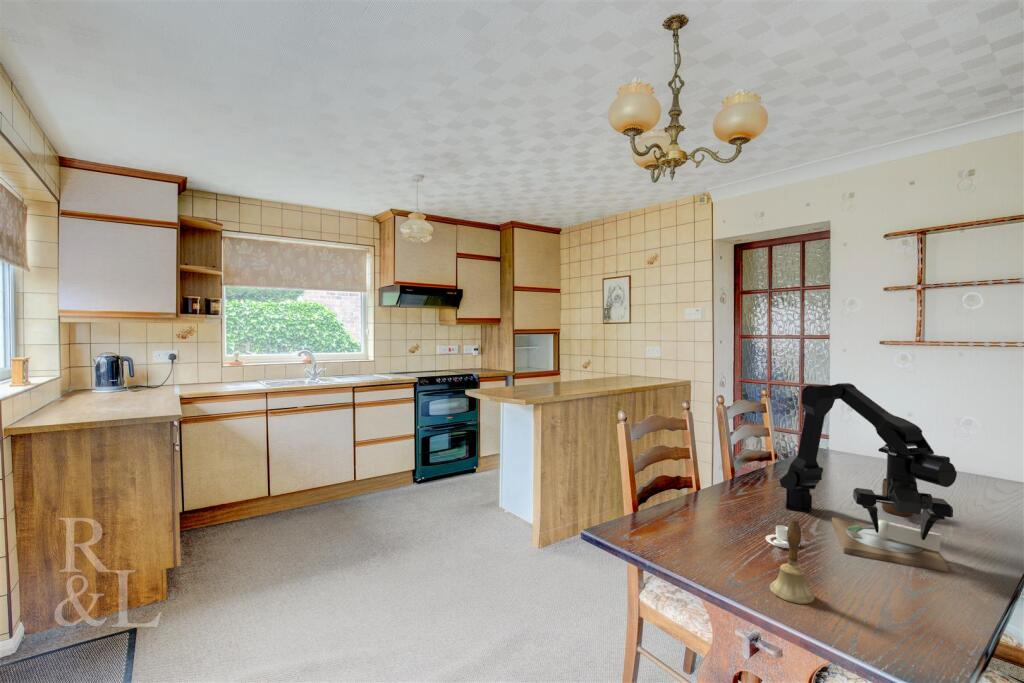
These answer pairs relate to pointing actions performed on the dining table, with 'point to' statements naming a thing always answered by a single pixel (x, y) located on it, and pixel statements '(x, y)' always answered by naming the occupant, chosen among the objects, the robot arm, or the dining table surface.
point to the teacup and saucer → (779, 537)
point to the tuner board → (883, 546)
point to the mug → (890, 507)
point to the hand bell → (792, 572)
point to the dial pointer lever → (905, 534)
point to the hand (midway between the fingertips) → (899, 535)
